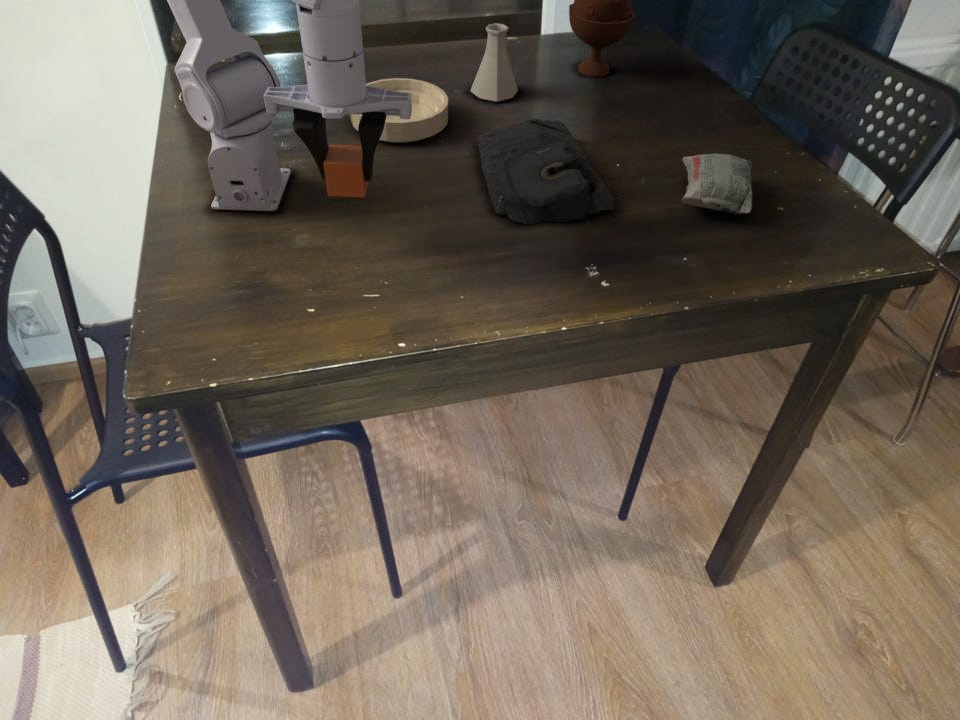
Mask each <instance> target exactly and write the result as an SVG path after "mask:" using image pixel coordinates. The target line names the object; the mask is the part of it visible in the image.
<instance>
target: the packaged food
mask: <svg viewBox="0 0 960 720" xmlns="http://www.w3.org/2000/svg"><path fill="white" fill-rule="evenodd" d="M681 160H682V162H683V164H684V165H685V167H686V171H687V182H688V185H687V186H686V192H685V193H684V196H683V197H681V198H680V202H681V204H687V205H688V206H693V207H697V208H702V209H709V210H713V211H718V212H719V211H720V212H724V213H730V214H735V215H744V214H746V215H747V214H748V213H751V212H752V209H753V187H752V173H751V172H752V168H753V162H752V161H751V160H748V159H745V158H742V157H739V156H736V155H735V154H734V155H733V154H726V153H725V154H724V153H702V154H696V155H690V156H683V158H682V159H681Z"/></svg>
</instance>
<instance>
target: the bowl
mask: <svg viewBox="0 0 960 720" xmlns="http://www.w3.org/2000/svg"><path fill="white" fill-rule="evenodd" d="M366 85H367V86H372V87H377V88H382V89H387V90H392V91H397V92H406V93H411V101H412V113H411V118H410V119H401V118H400V116H391V115H387V116H386V121H385V125H384V129H383V132H382V135H381V137H380V139H379V141H381V142H388V143H389V142H390V143H411V142H416V141H420V140H424V139H427V138H430V137H434V136H436V135H437V134H439V133H440V132H442V131H443V130H444V129H445V128H446V126H447V125H448V124H449V96H448V95H447V93H446V91H445V90H443V89H442V88H441V87H439V86H437V85H436V84H433V83H431V82H428V81H425V80H420V79H414V78H405V77H404V78H402V77H392V78H383V79H378V80H374V81H370V82H366ZM361 117H362V114H349V118H350V122H351V124H352V127H353V128H354V129H355V130H356V131H357V132H358V126H359V123H360V119H361Z"/></svg>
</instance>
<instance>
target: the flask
mask: <svg viewBox="0 0 960 720" xmlns="http://www.w3.org/2000/svg"><path fill="white" fill-rule="evenodd" d="M485 31H486V33H487V38H486V39H487V40H486V45H485V50H484V55H483V56H482V59H481V63H480V66H479V68H478V71H477V72H476V75H475V78H474V80H473V83H472V85H471V89H470V90H469V92H471V93H472V94H474V96H476V97H477V98H479V99H481V100H485V101H486V100H487V101H491V102H497V103H498V102H501V101H505V100H509V99H512V98H514V97H515V96H516V94H517V92H519V88H518V85H517V82H516V79H515V76H514V73H513V69H512V65H511V62H510V58H509V54H508V49H507V32H509V26H507V25H505V24H503V23H497V22H495V23H489V24H487V26H485Z"/></svg>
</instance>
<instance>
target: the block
mask: <svg viewBox="0 0 960 720" xmlns="http://www.w3.org/2000/svg"><path fill="white" fill-rule="evenodd" d="M324 171H325V178H326V180H325V184H326V191H327V192H326V193H327V197H339V198H340V197H342V198H346V197H347V198H365V197H366V193H367V189H368V185H369V181H365V179H364V173H363V154H362V147H361V145H356V144H355V145H353V144H351V145H350V144H328V151H327V154H326V157H325V160H324Z"/></svg>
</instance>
